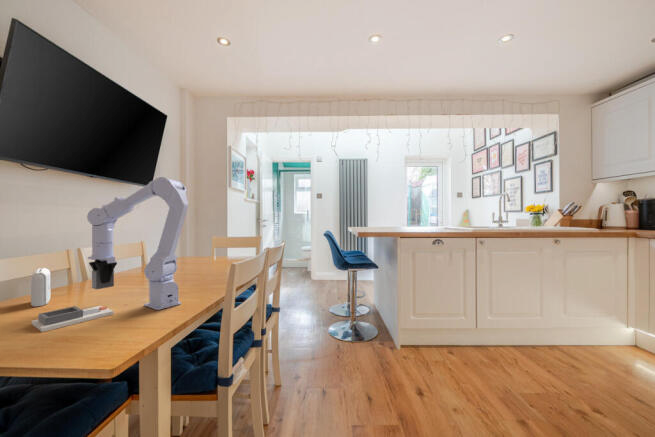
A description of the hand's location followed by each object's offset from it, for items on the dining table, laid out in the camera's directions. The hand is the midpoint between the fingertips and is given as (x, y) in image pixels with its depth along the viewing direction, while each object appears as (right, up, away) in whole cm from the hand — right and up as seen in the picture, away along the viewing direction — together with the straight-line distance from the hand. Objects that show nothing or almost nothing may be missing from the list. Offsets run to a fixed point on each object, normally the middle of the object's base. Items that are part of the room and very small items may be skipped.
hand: (103, 282), depth 96 cm
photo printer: (-24, -8, +2) cm, 25 cm away
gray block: (0, -2, 0) cm, 2 cm away
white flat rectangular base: (+2, -8, -13) cm, 16 cm away
